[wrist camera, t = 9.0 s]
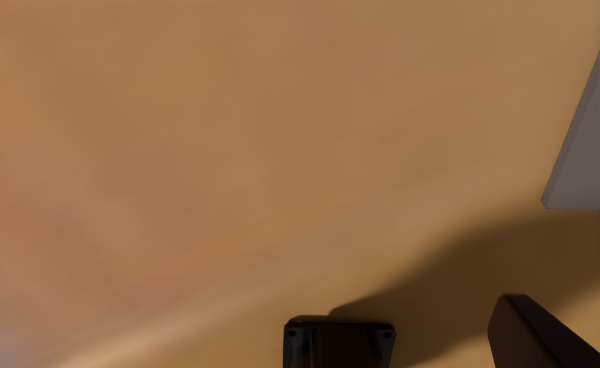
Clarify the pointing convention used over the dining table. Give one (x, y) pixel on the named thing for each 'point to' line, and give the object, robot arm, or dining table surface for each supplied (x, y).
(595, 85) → the mat
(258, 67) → the dining table surface
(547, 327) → the robot arm
